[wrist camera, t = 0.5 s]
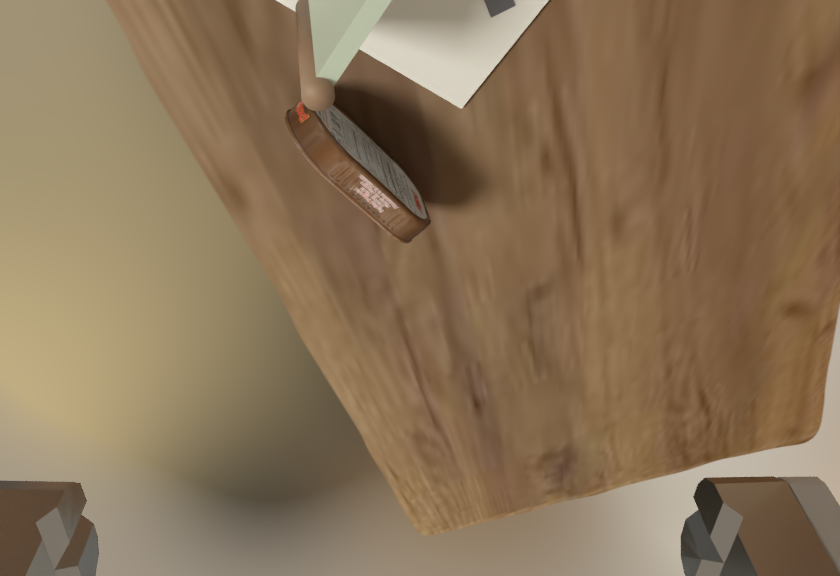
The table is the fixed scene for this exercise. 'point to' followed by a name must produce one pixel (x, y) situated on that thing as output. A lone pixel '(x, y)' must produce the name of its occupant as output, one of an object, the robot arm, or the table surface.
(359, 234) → the table surface
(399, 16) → the card
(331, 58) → the fence panel
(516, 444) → the table surface
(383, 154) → the tin
